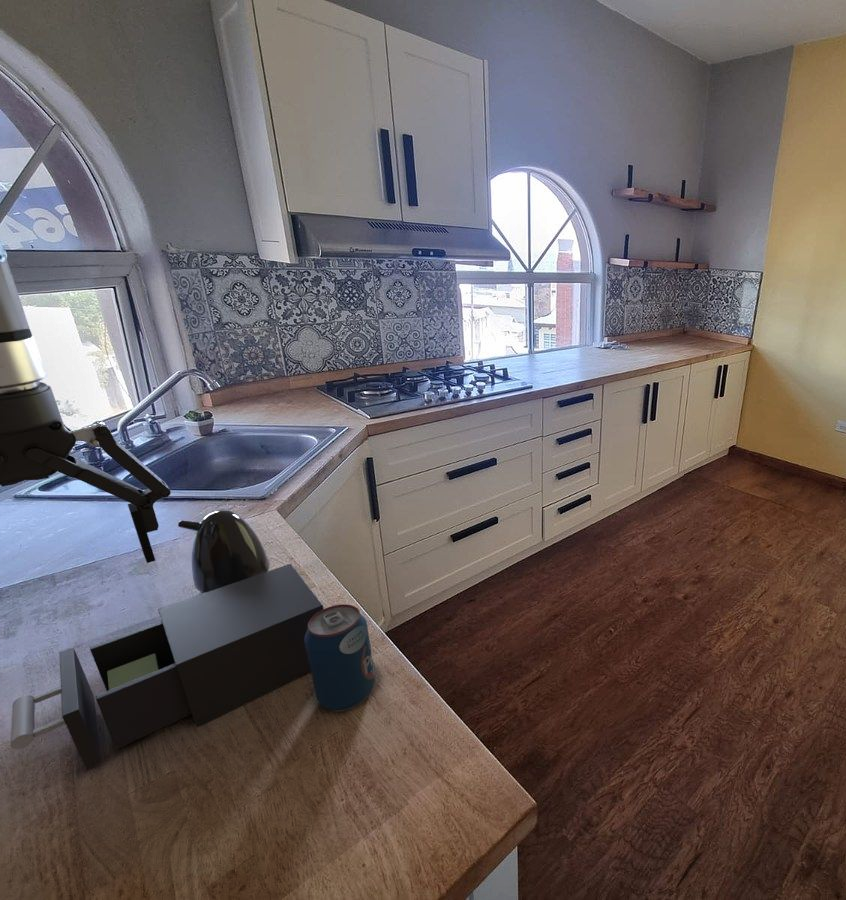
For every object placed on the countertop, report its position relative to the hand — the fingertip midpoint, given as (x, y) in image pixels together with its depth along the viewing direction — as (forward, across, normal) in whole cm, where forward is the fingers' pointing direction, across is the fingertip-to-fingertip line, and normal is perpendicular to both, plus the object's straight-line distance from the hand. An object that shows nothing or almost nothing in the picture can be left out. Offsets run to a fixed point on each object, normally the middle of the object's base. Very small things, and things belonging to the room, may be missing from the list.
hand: (66, 581), depth 53 cm
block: (+18, +2, 0) cm, 18 cm away
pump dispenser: (+20, +16, +19) cm, 32 cm away
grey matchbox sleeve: (+20, +14, -1) cm, 24 cm away
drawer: (+19, +2, -1) cm, 19 cm away
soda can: (+20, +21, -15) cm, 32 cm away
